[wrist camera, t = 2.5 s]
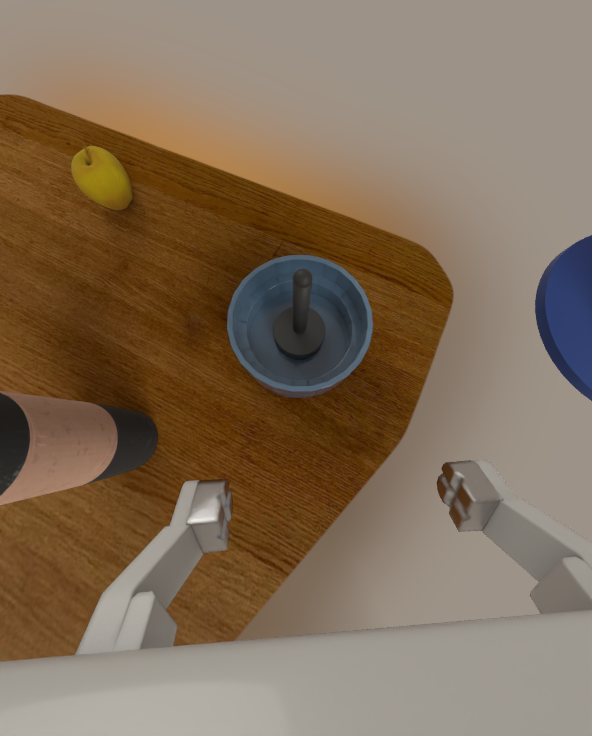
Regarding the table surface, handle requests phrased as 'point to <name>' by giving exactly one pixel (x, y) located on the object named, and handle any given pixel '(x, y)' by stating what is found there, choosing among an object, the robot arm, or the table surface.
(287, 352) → the joystick
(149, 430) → the travel mug
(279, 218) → the table surface
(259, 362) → the bowl
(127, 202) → the yellow fruit
